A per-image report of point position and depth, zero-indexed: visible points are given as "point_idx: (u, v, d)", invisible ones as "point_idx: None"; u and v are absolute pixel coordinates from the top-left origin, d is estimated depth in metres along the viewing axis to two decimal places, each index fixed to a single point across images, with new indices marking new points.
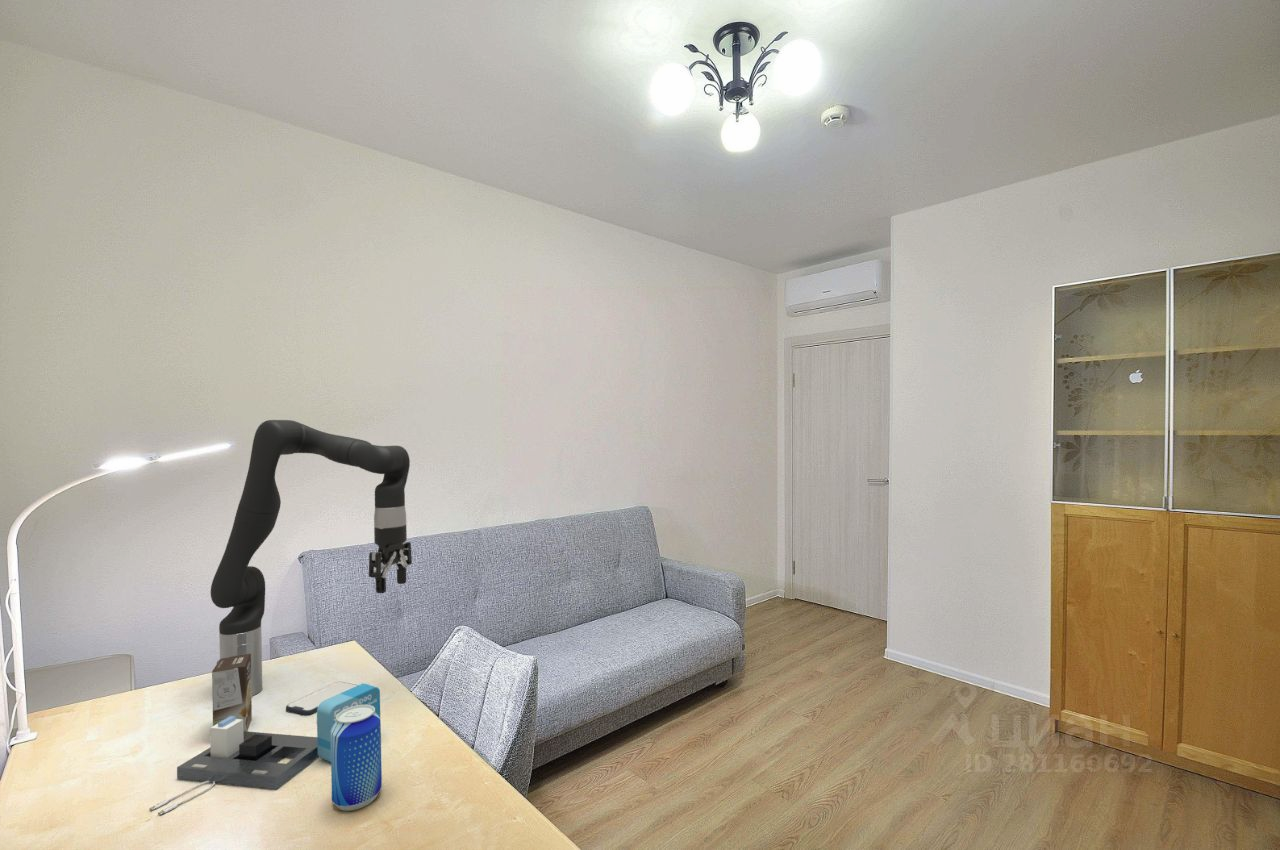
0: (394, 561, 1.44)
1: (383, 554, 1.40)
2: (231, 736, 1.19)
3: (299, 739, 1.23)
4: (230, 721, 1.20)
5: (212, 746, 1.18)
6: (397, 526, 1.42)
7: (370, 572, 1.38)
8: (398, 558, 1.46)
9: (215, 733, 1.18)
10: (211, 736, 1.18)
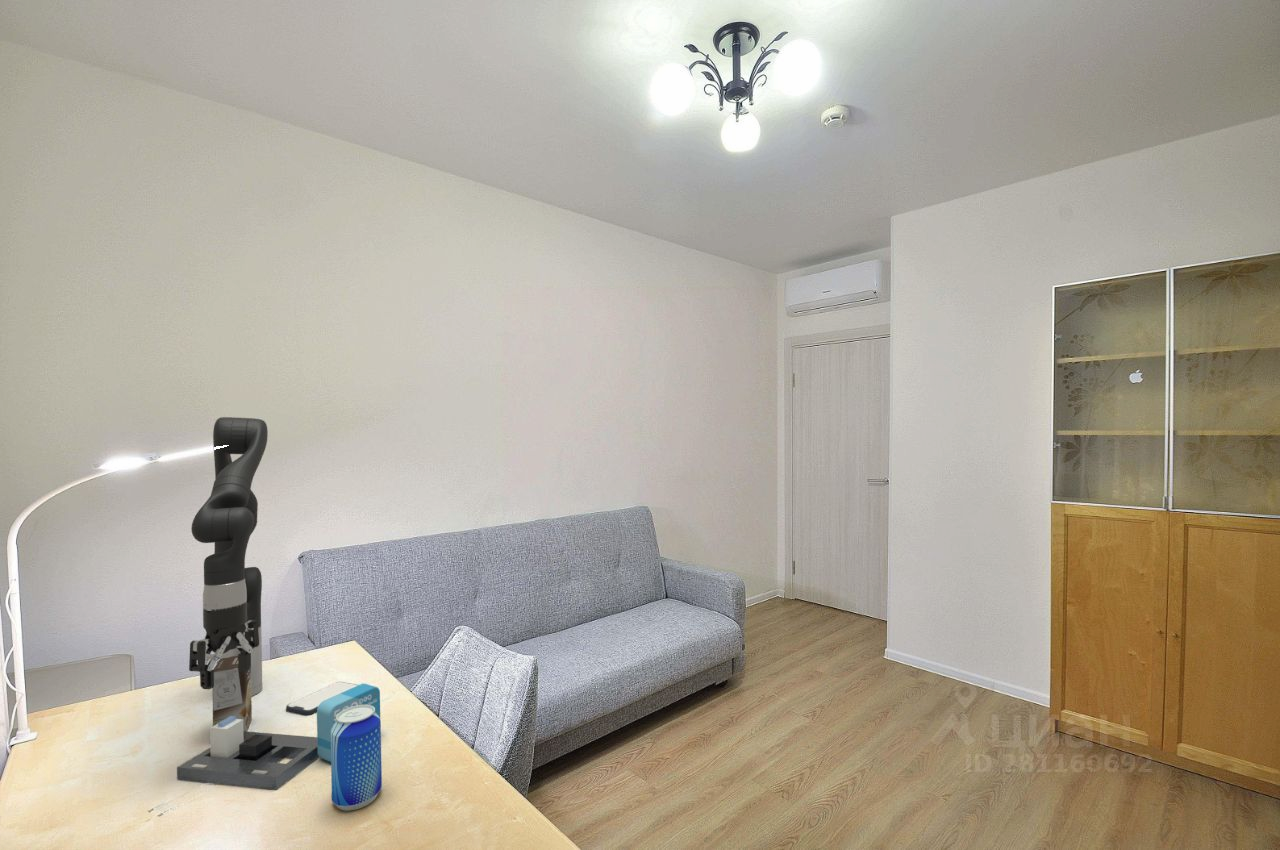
0: (229, 647, 1.20)
1: (210, 641, 1.16)
2: (231, 736, 1.19)
3: (299, 739, 1.23)
4: (230, 721, 1.20)
5: (212, 746, 1.18)
6: (230, 606, 1.18)
7: (191, 665, 1.14)
8: (236, 642, 1.22)
9: (215, 733, 1.18)
10: (211, 736, 1.18)
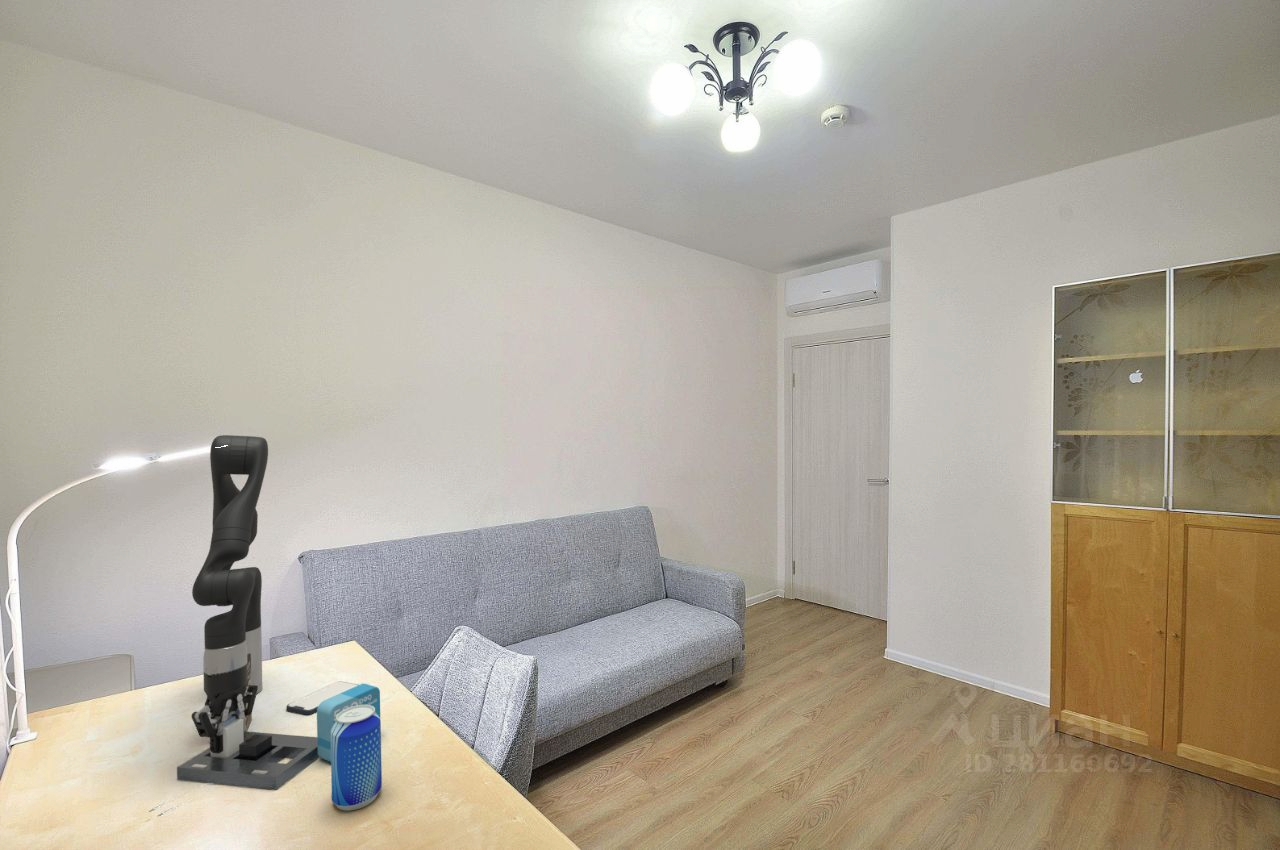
0: (230, 710, 1.20)
1: (212, 708, 1.16)
2: (232, 735, 1.19)
3: (299, 739, 1.23)
4: (230, 721, 1.20)
5: None
6: (230, 670, 1.18)
7: (200, 733, 1.15)
8: None
9: None
10: None
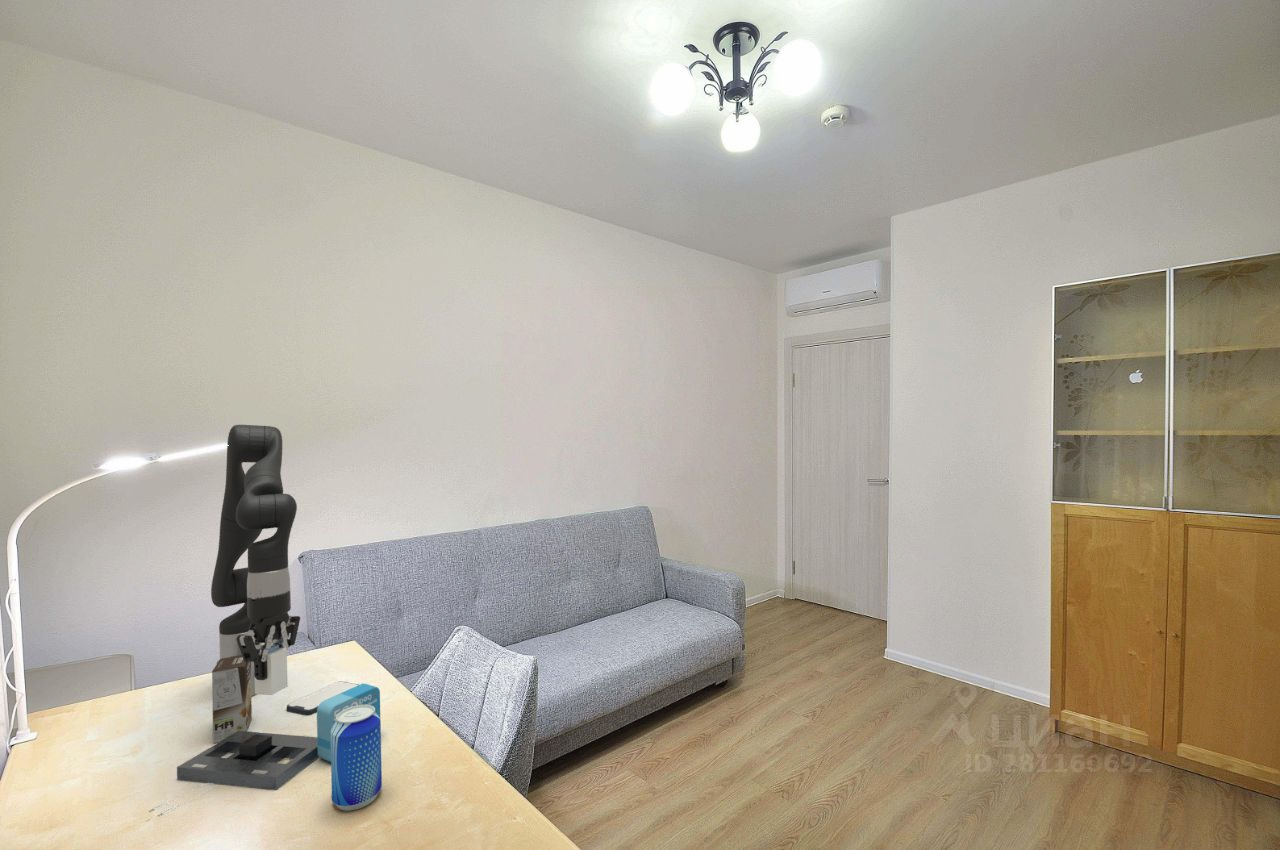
0: (273, 637, 1.17)
1: (256, 632, 1.14)
2: (276, 663, 1.16)
3: (299, 739, 1.23)
4: (274, 649, 1.18)
5: None
6: (274, 595, 1.15)
7: (245, 657, 1.13)
8: None
9: None
10: None
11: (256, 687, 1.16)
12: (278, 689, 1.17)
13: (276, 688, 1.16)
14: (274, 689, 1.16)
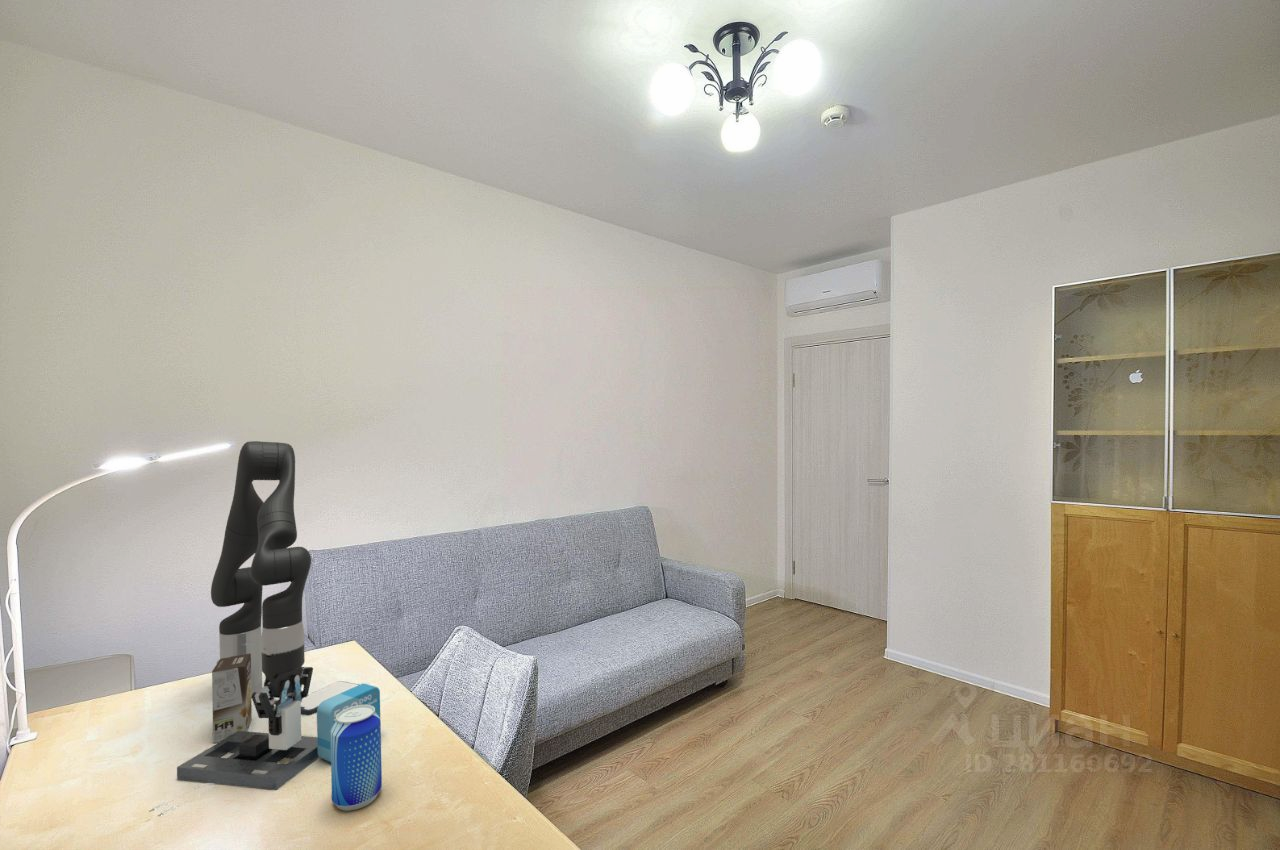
0: (287, 691, 1.17)
1: (271, 688, 1.14)
2: (290, 717, 1.16)
3: None
4: (288, 702, 1.18)
5: None
6: (289, 650, 1.15)
7: (259, 714, 1.13)
8: None
9: None
10: None
11: (270, 742, 1.16)
12: (292, 743, 1.17)
13: (290, 742, 1.16)
14: (288, 744, 1.16)
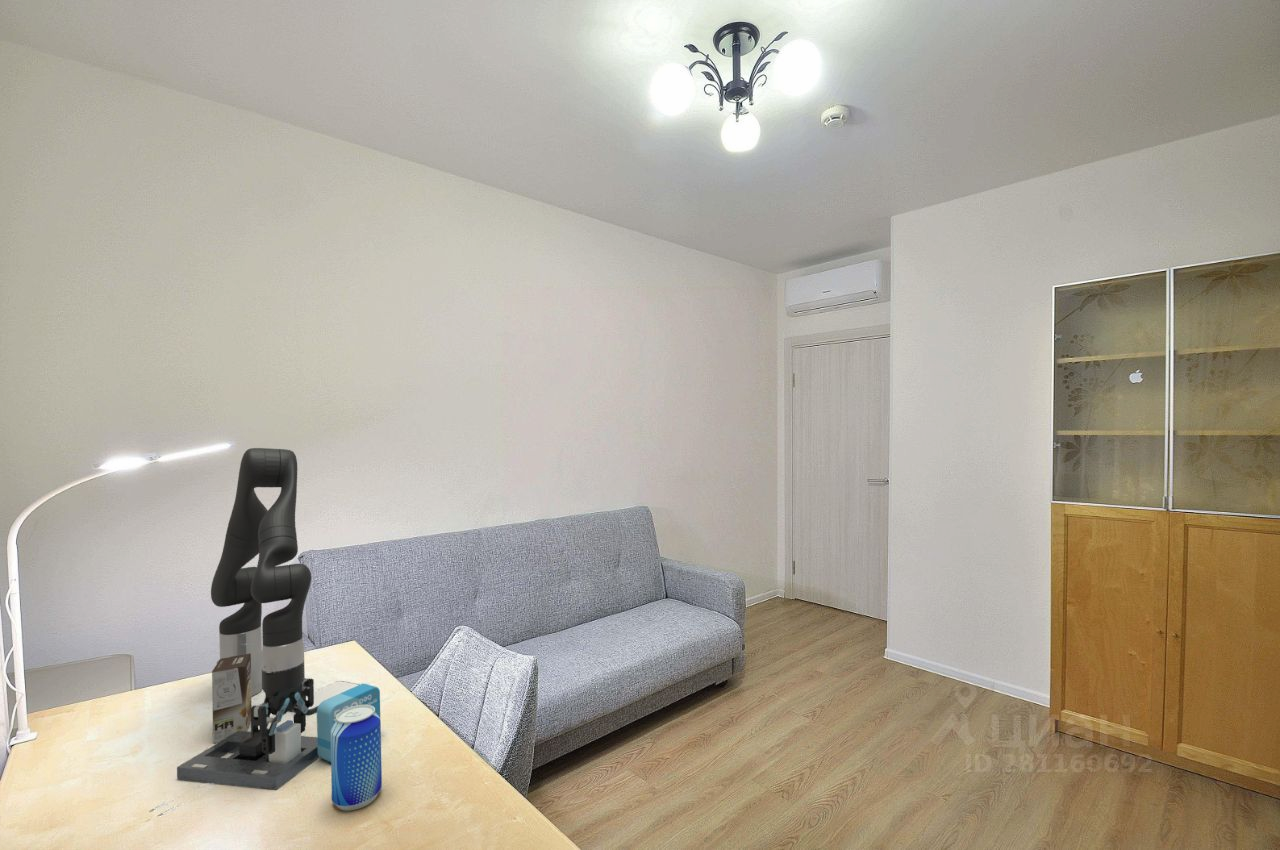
0: (287, 708, 1.17)
1: (270, 705, 1.13)
2: (290, 740, 1.17)
3: None
4: (288, 725, 1.18)
5: None
6: (289, 668, 1.15)
7: (253, 731, 1.11)
8: (294, 703, 1.19)
9: None
10: None
11: None
12: None
13: None
14: None
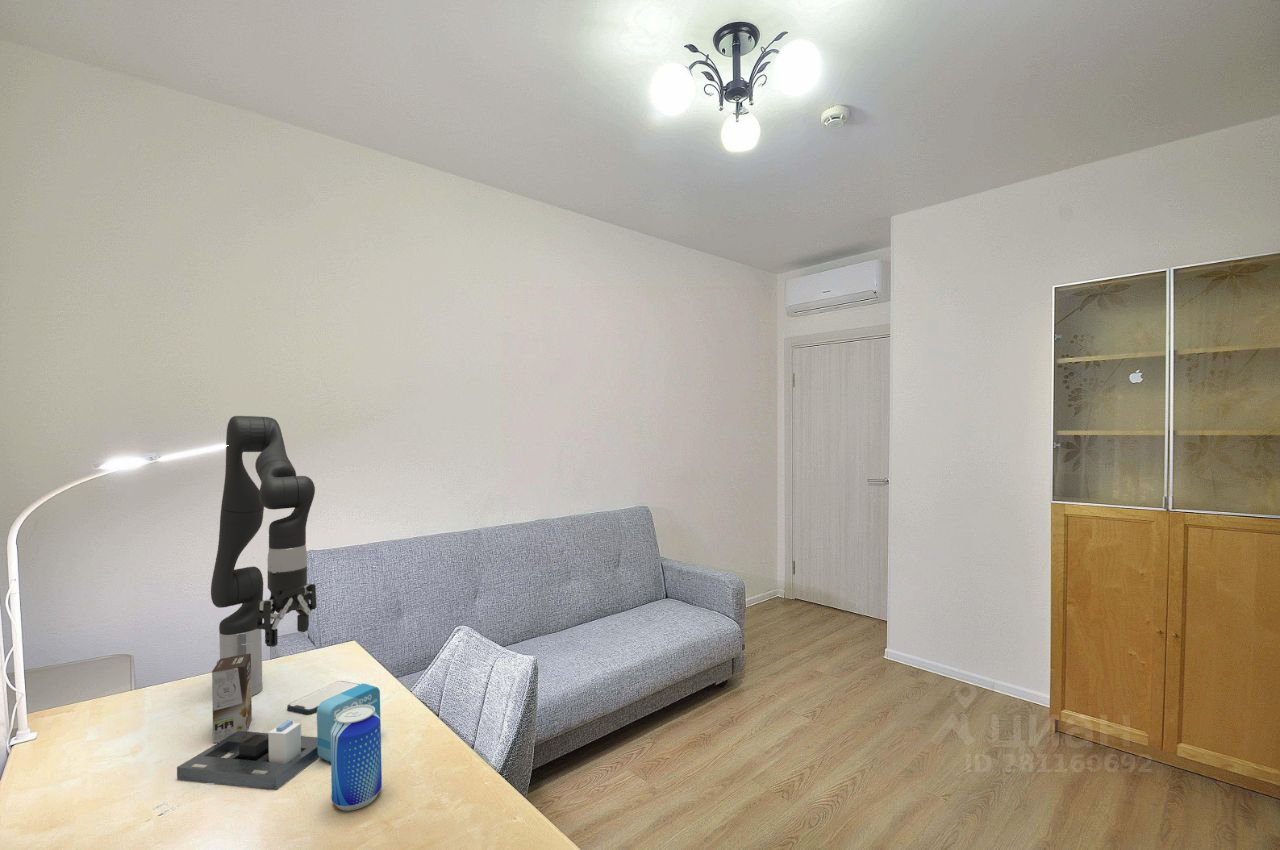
0: (291, 608, 1.26)
1: (275, 602, 1.23)
2: (290, 740, 1.17)
3: None
4: (288, 725, 1.18)
5: (270, 751, 1.16)
6: (293, 570, 1.24)
7: (257, 623, 1.20)
8: (297, 604, 1.28)
9: (274, 738, 1.16)
10: (269, 741, 1.16)
11: None
12: None
13: None
14: None
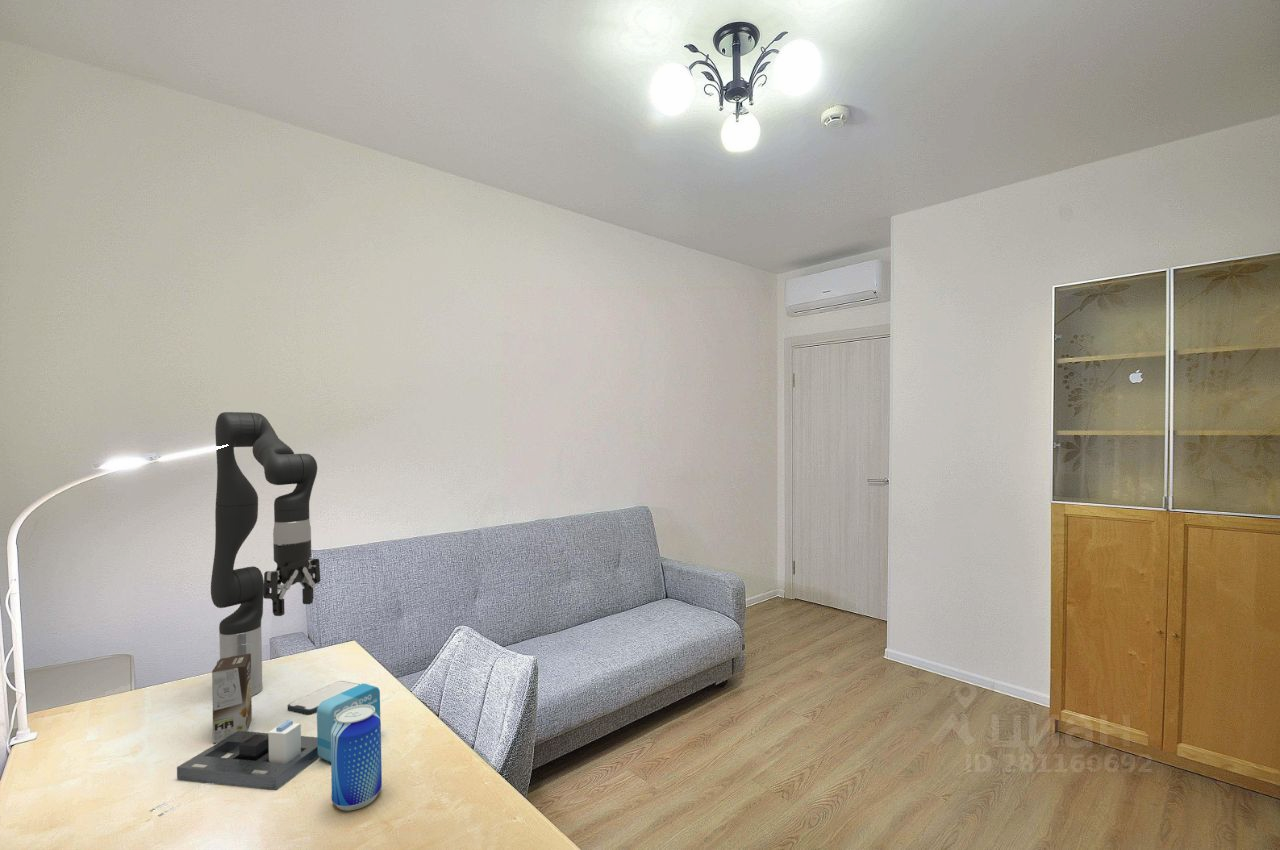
0: (296, 580, 1.32)
1: (281, 573, 1.28)
2: (290, 740, 1.17)
3: None
4: (288, 725, 1.18)
5: (270, 751, 1.16)
6: (298, 542, 1.30)
7: (265, 593, 1.26)
8: (302, 577, 1.33)
9: (274, 738, 1.16)
10: (269, 741, 1.16)
11: None
12: None
13: None
14: None
